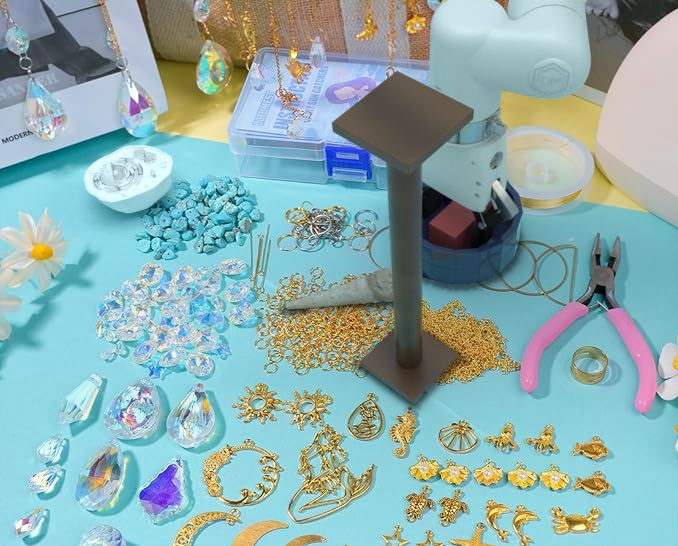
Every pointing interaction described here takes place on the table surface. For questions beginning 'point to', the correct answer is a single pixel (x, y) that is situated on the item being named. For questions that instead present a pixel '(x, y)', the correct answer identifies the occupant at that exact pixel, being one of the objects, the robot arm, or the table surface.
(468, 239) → the dusty pink block
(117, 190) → the cell model
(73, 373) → the table surface
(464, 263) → the pot
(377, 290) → the seashell
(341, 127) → the stand
